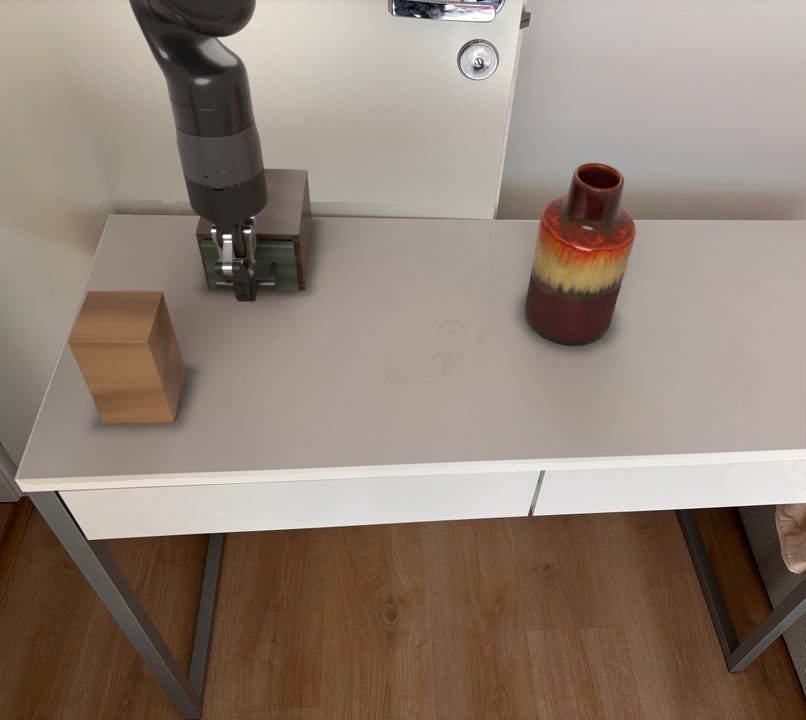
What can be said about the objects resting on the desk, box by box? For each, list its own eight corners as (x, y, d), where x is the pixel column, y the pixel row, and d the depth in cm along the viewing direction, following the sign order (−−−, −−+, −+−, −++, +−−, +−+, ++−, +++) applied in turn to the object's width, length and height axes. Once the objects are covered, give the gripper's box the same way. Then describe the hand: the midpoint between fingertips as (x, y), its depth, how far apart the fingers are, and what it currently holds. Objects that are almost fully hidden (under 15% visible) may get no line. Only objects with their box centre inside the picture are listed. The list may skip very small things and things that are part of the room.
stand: (174, 423, 78) (147, 341, 70) (103, 424, 77) (67, 341, 69) (186, 373, 83) (162, 291, 74) (119, 373, 82) (87, 290, 73)
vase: (521, 340, 91) (546, 198, 76) (527, 282, 98) (550, 143, 84) (610, 352, 91) (652, 212, 76) (609, 293, 98) (647, 155, 84)
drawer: (296, 314, 89) (290, 270, 85) (205, 314, 88) (194, 269, 83) (306, 228, 101) (301, 185, 96) (225, 227, 100) (216, 183, 95)
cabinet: (305, 290, 94) (299, 234, 88) (208, 289, 92) (195, 232, 86) (312, 224, 103) (307, 169, 97) (224, 222, 102) (213, 167, 95)
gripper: (194, 126, 77) (221, 260, 89) (168, 199, 68) (203, 338, 80) (269, 128, 78) (286, 261, 90) (254, 201, 69) (275, 338, 81)
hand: (247, 297), depth 85 cm, fingers closed
